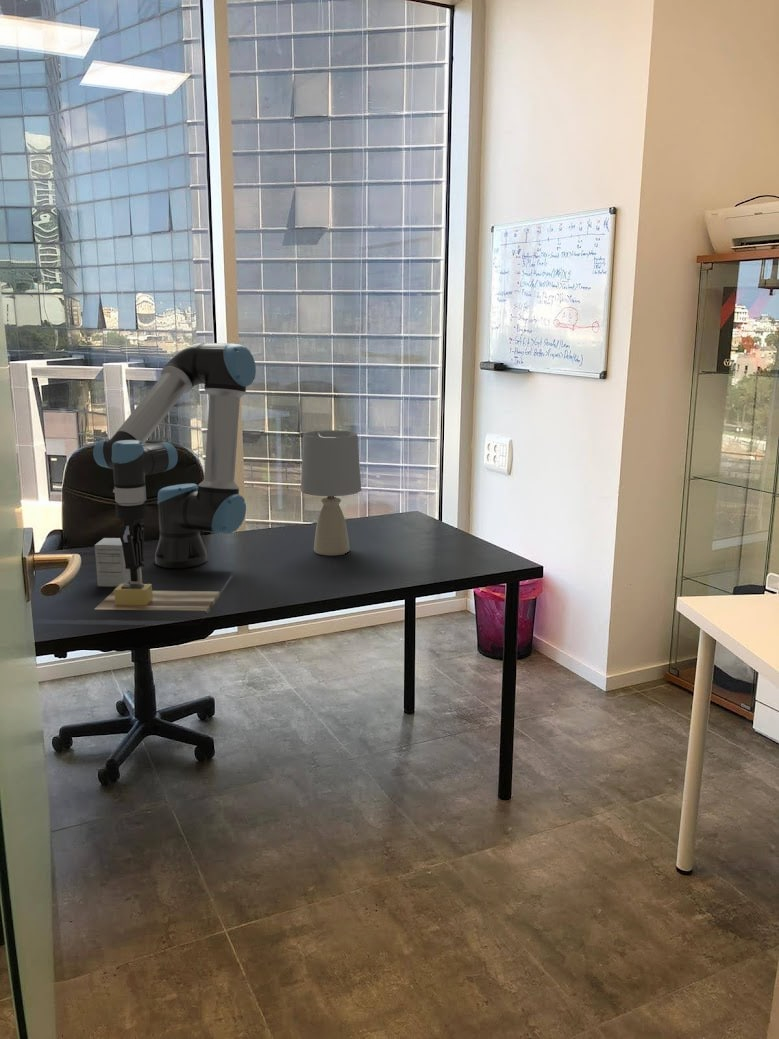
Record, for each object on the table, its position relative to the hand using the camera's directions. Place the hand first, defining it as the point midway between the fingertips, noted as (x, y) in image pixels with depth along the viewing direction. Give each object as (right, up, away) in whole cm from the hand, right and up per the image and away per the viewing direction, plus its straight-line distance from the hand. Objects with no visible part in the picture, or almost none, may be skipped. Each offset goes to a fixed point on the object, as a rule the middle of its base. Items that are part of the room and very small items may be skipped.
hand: (136, 591), depth 222 cm
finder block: (0, -2, -3) cm, 4 cm away
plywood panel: (+6, -3, -1) cm, 7 cm away
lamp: (+47, +8, +48) cm, 68 cm away
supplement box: (-10, 0, +13) cm, 17 cm away
